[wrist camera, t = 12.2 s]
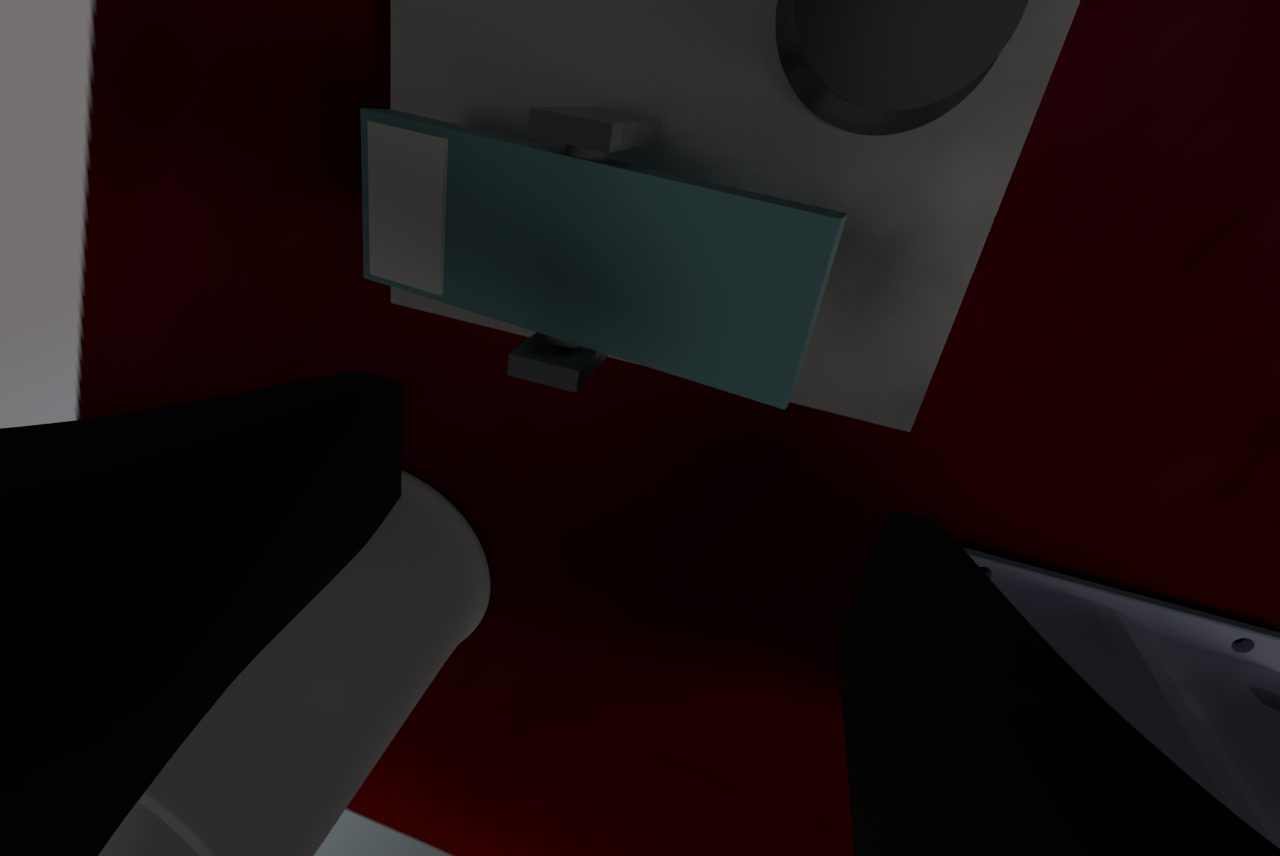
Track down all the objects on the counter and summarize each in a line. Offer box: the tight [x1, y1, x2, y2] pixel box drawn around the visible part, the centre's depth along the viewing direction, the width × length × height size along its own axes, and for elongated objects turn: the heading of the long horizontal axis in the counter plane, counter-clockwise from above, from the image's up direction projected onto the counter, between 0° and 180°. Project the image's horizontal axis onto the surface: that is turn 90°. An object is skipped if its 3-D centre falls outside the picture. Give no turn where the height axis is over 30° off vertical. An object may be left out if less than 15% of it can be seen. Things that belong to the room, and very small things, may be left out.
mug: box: [98, 470, 490, 856], centre depth 21 cm, size 12×8×12 cm
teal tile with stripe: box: [360, 108, 848, 410], centre depth 15 cm, size 11×4×1 cm, turn 81°
